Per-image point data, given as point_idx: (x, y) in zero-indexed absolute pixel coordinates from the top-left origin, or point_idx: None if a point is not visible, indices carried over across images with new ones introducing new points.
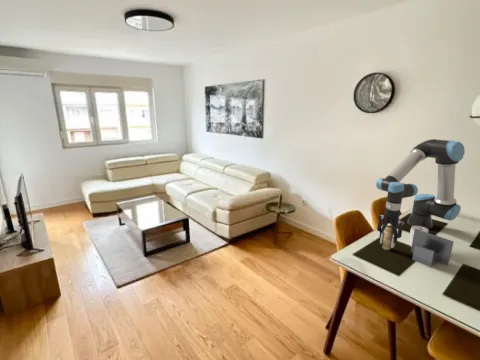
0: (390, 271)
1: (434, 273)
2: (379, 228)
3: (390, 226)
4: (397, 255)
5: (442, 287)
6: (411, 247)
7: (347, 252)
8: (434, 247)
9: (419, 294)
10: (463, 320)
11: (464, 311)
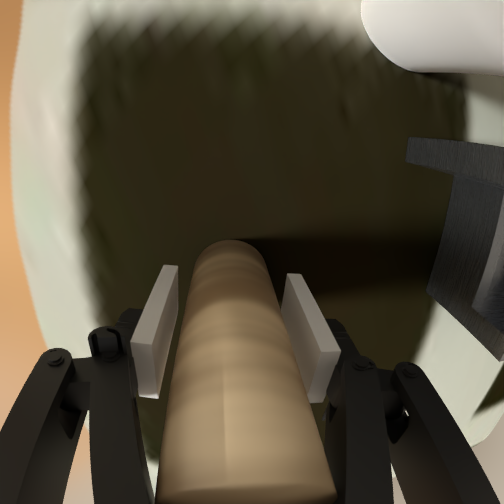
0: None
1: None
2: (77, 429)
3: (240, 500)
4: (340, 319)
5: (485, 389)
6: (429, 166)
7: None
8: None
9: None
10: (477, 441)
11: (491, 421)
